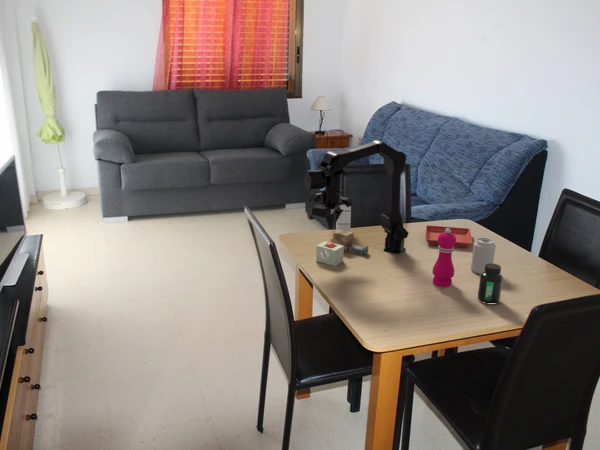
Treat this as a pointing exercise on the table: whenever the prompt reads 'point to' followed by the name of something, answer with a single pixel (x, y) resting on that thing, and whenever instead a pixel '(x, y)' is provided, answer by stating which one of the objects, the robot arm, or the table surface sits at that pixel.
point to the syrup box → (344, 218)
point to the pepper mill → (444, 260)
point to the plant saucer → (460, 233)
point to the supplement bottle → (490, 284)
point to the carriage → (343, 238)
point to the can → (482, 254)
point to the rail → (357, 249)
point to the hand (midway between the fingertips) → (330, 229)
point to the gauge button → (330, 244)
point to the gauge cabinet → (329, 254)
